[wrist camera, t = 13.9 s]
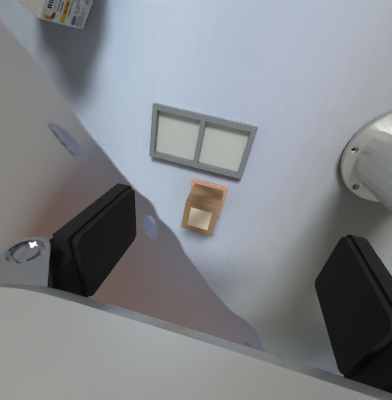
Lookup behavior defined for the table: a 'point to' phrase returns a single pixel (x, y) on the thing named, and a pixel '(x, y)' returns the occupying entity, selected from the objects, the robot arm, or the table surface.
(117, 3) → the table surface
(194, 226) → the brown labeled box
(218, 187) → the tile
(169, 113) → the cubby strip
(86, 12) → the container
